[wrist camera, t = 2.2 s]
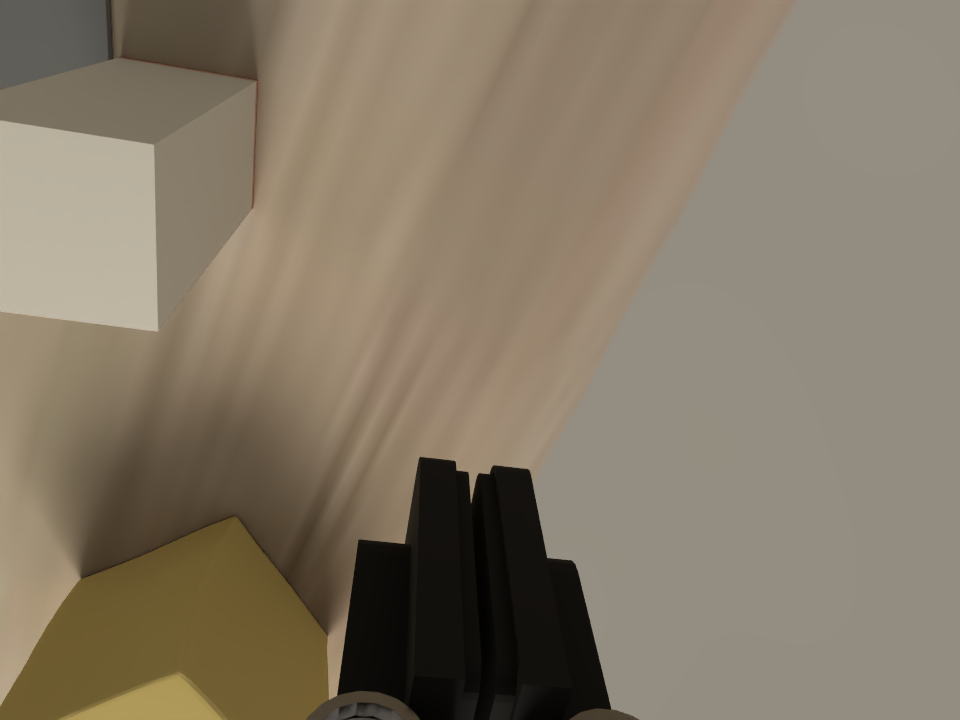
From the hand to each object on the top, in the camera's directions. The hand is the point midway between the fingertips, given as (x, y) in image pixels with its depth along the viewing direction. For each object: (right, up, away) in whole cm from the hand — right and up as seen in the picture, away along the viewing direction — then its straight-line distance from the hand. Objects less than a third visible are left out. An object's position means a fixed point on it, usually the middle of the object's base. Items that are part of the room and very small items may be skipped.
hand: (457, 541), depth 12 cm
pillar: (-11, +12, +18) cm, 24 cm away
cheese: (-14, -10, +29) cm, 34 cm away
